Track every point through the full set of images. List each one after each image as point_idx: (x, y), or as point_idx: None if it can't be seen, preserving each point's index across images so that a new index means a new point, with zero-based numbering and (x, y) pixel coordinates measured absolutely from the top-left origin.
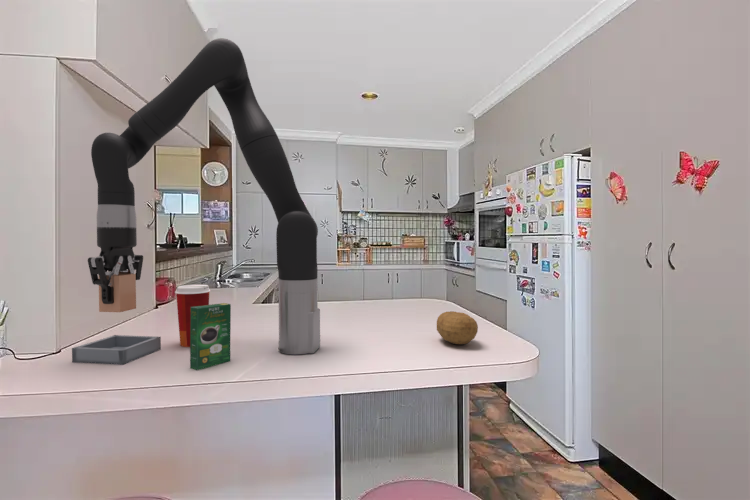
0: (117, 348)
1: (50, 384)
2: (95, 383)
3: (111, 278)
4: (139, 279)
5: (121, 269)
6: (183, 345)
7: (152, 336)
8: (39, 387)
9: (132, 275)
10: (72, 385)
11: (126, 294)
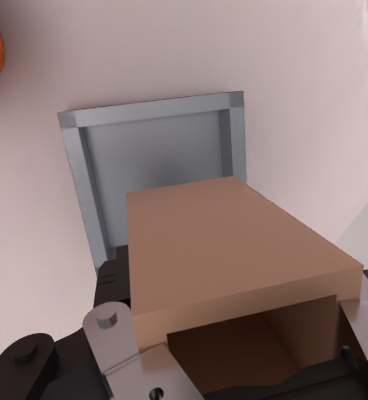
0: (124, 226)
1: (345, 147)
2: (334, 53)
3: (365, 293)
4: (18, 340)
5: (283, 394)
6: (1, 52)
7: (65, 146)
8: (360, 150)
9: (181, 295)
10: (348, 95)
11: (214, 209)
